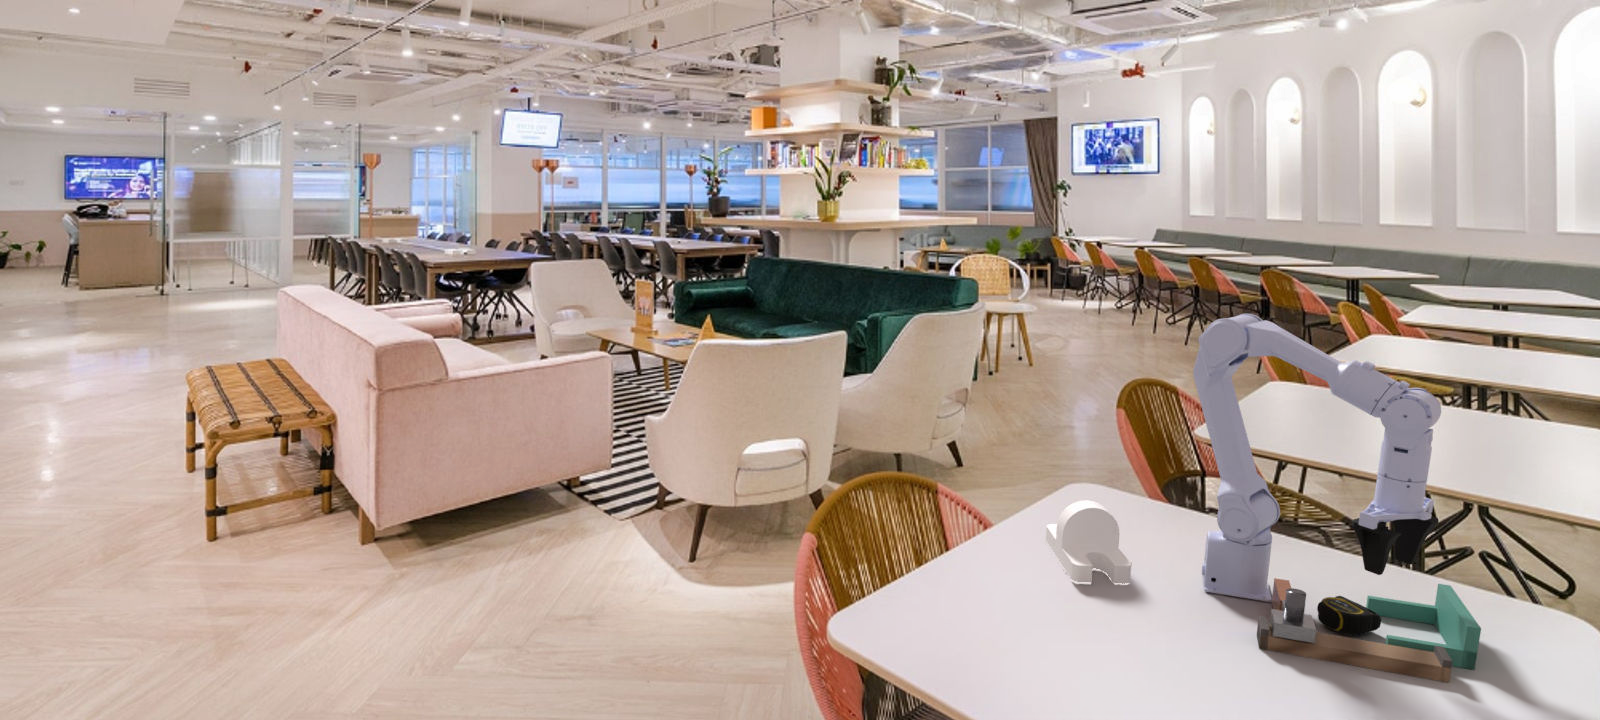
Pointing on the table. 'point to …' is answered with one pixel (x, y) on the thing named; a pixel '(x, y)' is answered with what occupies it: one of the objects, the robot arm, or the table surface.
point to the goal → (1436, 624)
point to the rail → (1361, 653)
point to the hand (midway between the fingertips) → (1388, 566)
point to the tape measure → (1347, 616)
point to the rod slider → (1290, 613)
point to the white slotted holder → (1088, 543)
